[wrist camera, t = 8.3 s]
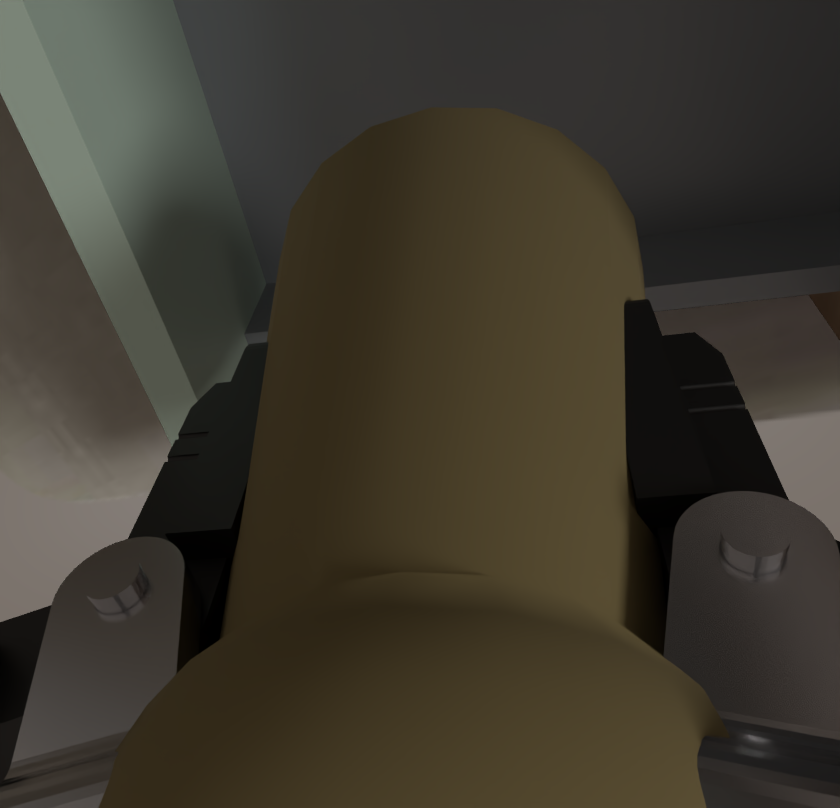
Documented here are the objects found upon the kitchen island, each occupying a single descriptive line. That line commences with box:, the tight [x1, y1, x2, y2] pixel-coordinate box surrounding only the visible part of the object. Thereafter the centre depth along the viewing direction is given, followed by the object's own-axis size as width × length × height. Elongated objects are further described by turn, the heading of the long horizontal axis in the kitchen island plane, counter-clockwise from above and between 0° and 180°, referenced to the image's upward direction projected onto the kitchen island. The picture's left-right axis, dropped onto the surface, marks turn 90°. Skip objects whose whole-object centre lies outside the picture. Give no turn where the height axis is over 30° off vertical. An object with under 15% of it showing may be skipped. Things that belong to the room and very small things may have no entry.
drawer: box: [0, 0, 840, 446], centre depth 17 cm, size 24×22×8 cm
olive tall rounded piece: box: [99, 107, 730, 808], centre depth 8 cm, size 6×6×11 cm
